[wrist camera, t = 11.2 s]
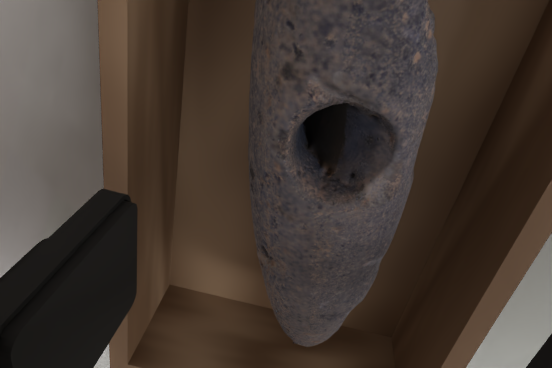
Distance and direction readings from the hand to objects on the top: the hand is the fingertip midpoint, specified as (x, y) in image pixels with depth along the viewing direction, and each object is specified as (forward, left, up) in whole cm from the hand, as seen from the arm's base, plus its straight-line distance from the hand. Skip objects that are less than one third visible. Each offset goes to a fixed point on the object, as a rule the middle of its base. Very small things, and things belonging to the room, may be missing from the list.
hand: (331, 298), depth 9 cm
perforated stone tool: (0, 0, -9) cm, 9 cm away
